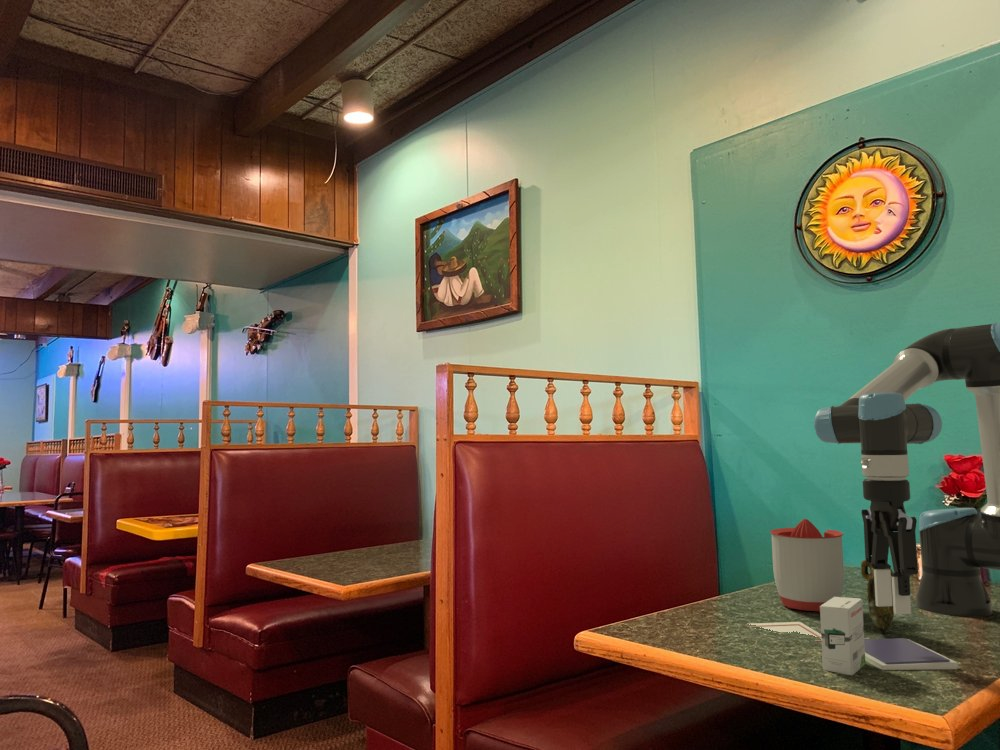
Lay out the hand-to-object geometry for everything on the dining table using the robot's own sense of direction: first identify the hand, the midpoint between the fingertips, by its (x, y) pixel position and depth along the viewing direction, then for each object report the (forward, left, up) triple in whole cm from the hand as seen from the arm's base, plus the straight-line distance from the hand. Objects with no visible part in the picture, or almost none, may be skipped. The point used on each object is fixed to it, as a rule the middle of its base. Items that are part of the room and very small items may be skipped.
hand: (893, 609), depth 131 cm
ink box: (+12, +5, -9) cm, 16 cm away
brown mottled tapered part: (-6, -16, -9) cm, 20 cm away
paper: (+14, -17, -9) cm, 24 cm away
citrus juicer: (-3, -39, -9) cm, 40 cm away
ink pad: (0, 0, -9) cm, 9 cm away
